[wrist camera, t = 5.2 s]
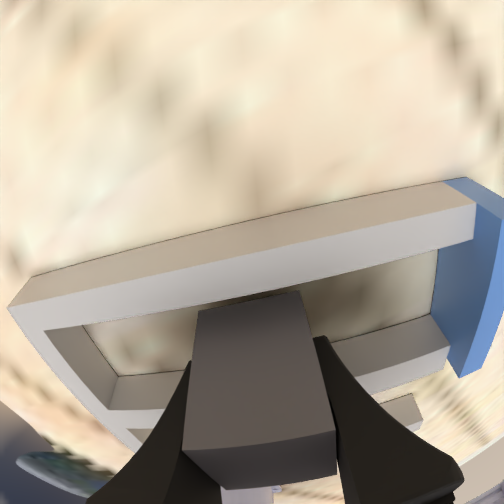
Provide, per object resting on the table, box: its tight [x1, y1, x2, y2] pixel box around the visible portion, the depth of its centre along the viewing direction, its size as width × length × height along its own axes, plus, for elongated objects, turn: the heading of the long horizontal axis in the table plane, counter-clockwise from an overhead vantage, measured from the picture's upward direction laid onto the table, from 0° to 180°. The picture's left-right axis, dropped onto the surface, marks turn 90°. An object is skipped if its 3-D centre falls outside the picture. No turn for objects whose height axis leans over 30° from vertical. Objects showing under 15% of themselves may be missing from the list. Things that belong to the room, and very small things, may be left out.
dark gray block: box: [182, 290, 337, 490], centre depth 10 cm, size 4×4×6 cm
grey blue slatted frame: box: [7, 177, 504, 453], centre depth 14 cm, size 17×21×4 cm
